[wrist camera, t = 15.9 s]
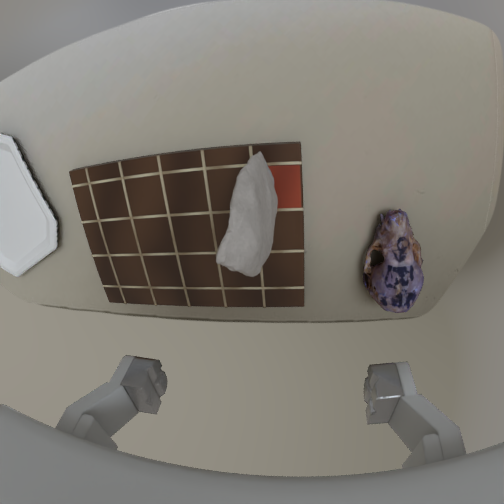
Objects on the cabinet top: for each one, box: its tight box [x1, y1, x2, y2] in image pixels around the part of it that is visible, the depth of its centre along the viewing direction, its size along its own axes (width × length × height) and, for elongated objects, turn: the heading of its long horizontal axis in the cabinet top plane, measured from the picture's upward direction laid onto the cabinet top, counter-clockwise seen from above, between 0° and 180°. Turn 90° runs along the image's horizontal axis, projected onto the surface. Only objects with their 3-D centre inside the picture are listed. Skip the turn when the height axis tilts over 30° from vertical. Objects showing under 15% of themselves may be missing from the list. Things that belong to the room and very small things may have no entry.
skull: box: [363, 209, 424, 313], centre depth 33 cm, size 12×8×6 cm, turn 3°
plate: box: [0, 133, 58, 277], centre depth 37 cm, size 21×21×2 cm
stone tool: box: [216, 151, 278, 277], centre depth 25 cm, size 9×3×15 cm, turn 14°
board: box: [69, 142, 304, 308], centre depth 37 cm, size 28×20×1 cm
